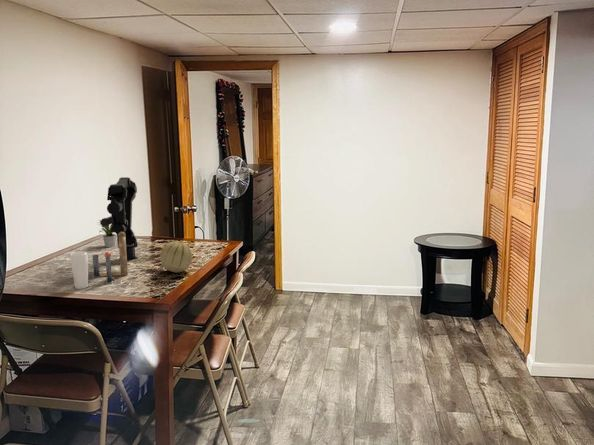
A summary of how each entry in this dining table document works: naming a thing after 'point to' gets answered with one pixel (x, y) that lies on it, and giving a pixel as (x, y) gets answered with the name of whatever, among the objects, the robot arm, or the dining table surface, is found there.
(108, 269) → the post
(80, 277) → the cream white cylinder
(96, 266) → the post
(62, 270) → the dining table surface
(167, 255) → the cantaloupe
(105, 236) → the house plant
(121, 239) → the gate
